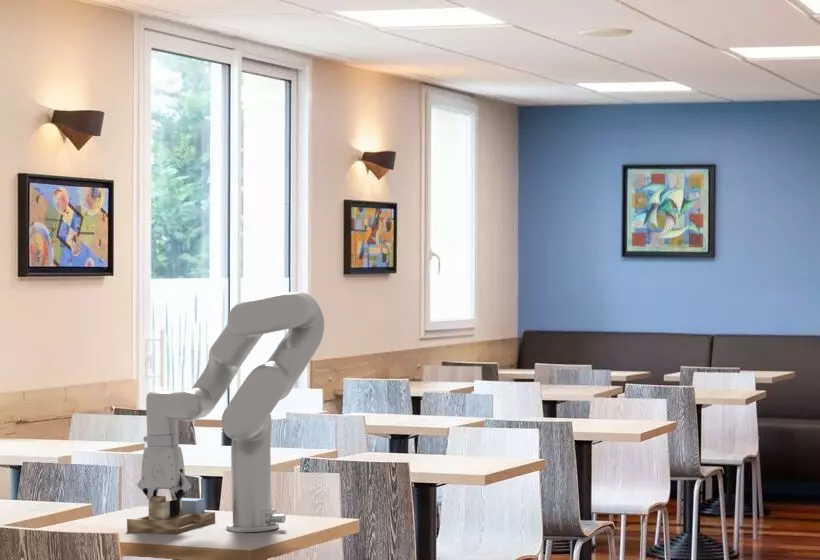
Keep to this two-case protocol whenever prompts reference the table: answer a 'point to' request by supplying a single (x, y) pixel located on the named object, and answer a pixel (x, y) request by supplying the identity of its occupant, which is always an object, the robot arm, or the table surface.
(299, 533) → the table surface
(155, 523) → the tray
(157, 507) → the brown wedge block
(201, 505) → the bar
